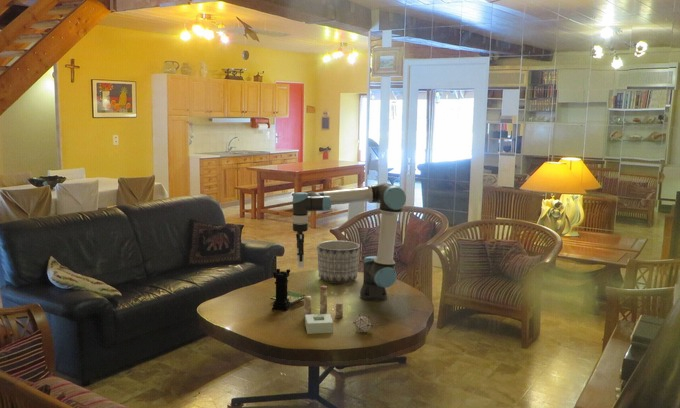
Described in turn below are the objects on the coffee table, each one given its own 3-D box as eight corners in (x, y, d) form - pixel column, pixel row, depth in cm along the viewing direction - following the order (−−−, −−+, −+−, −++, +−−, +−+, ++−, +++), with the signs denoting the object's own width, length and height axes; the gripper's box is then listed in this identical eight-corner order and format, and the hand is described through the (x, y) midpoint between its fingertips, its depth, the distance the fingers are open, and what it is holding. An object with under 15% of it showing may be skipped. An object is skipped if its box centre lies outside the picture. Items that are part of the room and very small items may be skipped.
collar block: (329, 323, 288) (329, 313, 287) (333, 332, 276) (333, 322, 276) (305, 324, 286) (305, 314, 286) (307, 333, 275) (307, 323, 274)
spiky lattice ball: (358, 339, 279) (351, 319, 283) (375, 332, 279) (368, 312, 283) (357, 336, 271) (349, 315, 274) (374, 329, 271) (367, 309, 275)
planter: (312, 284, 352) (313, 248, 349) (321, 273, 377) (321, 239, 374) (355, 287, 348) (356, 251, 344) (361, 275, 373) (362, 241, 370)
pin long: (326, 316, 299) (326, 285, 296) (327, 318, 295) (327, 287, 293) (319, 316, 298) (319, 285, 296) (320, 318, 295) (320, 287, 292)
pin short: (341, 315, 300) (342, 302, 299) (343, 317, 296) (343, 304, 295) (335, 315, 299) (335, 302, 298) (336, 318, 296) (336, 304, 295)
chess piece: (286, 310, 306) (286, 273, 302) (271, 309, 307) (271, 272, 304) (291, 305, 313) (291, 269, 310) (276, 304, 315) (276, 268, 312)
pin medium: (310, 316, 297) (310, 295, 296) (311, 319, 294) (311, 297, 292) (303, 316, 297) (303, 295, 295) (304, 319, 293) (304, 298, 292)
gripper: (291, 218, 310) (291, 257, 313) (293, 228, 285) (293, 270, 289) (306, 218, 311) (305, 257, 314) (309, 227, 286) (309, 270, 290)
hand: (300, 263), depth 301 cm, fingers open, 13 cm apart
